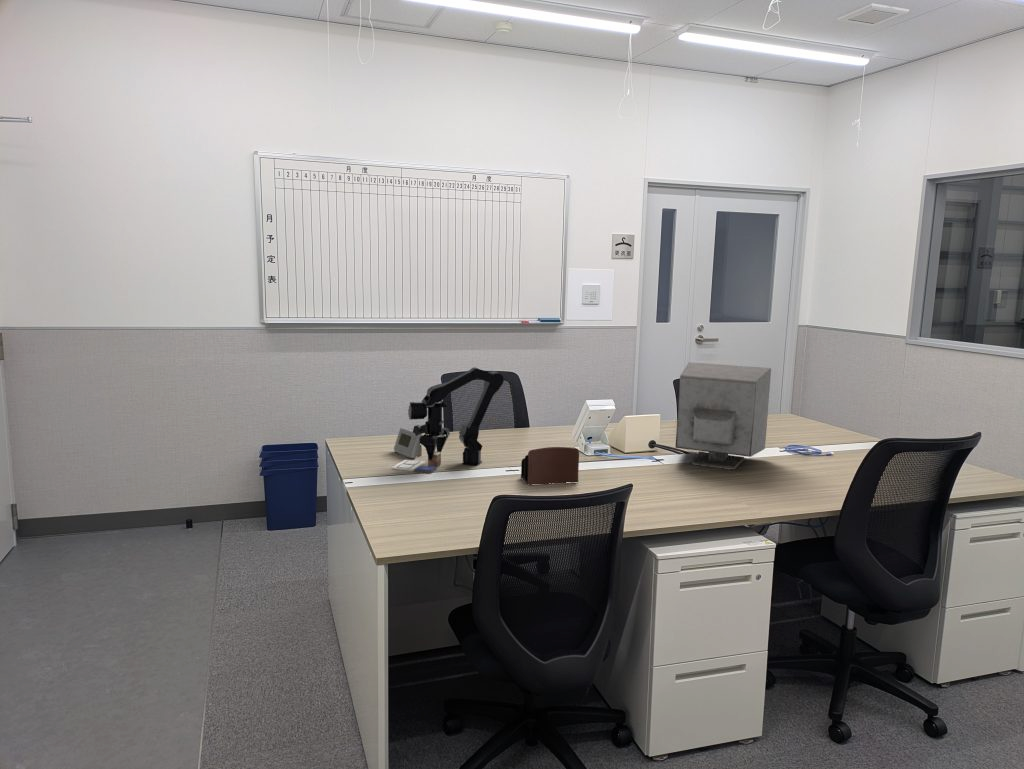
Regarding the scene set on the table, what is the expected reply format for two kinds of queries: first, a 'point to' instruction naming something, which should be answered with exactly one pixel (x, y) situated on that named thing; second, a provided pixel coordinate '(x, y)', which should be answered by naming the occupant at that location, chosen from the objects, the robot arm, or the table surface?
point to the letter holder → (550, 465)
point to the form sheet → (408, 465)
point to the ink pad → (425, 469)
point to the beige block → (435, 460)
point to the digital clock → (408, 443)
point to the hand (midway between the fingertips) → (434, 456)
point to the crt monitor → (722, 412)
